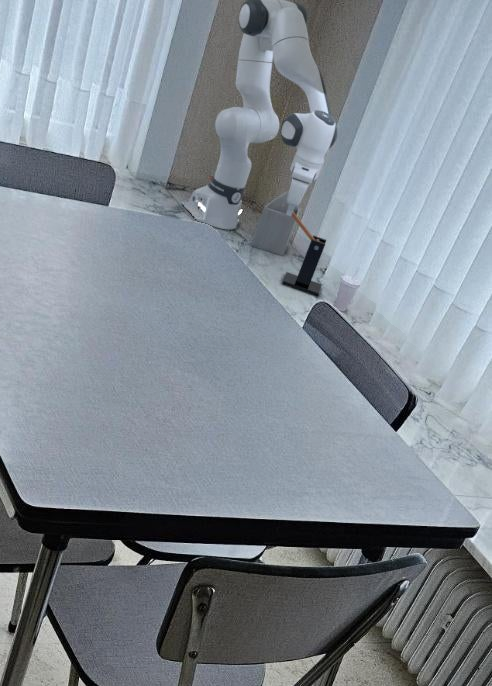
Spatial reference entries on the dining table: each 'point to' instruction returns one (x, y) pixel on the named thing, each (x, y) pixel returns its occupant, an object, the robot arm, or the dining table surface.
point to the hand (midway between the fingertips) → (289, 212)
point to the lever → (302, 226)
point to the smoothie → (346, 291)
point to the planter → (275, 226)
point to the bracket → (307, 269)
